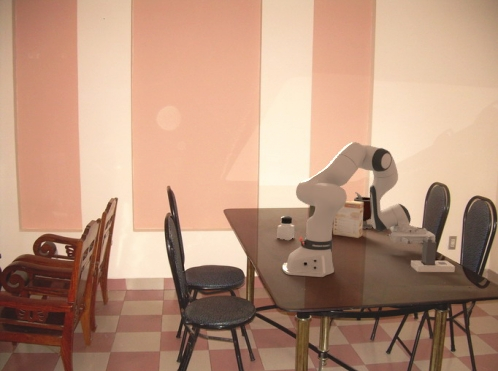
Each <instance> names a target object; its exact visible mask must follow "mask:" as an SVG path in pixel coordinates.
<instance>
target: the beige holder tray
mask: <svg viewBox="0 0 498 371" xmlns="http://www.w3.org/2000/svg"><path fill="white" fill-rule="evenodd" d="M410 267H411V268H412V269H413V270H415V271H416V272H417V273H455V270H456V266H455V265H454V264H452V263H450V262H449V261H448V260H435V265H424V264H422V260H410Z"/></svg>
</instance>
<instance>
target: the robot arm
mask: <svg viewBox="0 0 498 371" xmlns="http://www.w3.org/2000/svg"><path fill="white" fill-rule="evenodd" d="M358 169H361V170H366V171H372V175H373V180H372V184H371V185H370V186H369V197H370V206H371V219H370V224H372V226H373V228H372V229H374V231H377V232H381V233H382V232H384V231H386V230H388V229H390V232H391V233H388V234H387V236H388V238H390V241H391V242H392V243H394V244H396V243H398V244H399V243H401V244H403V243H404V244H406V245H411V244H423V240H428V236H432V240H433V241H435V242H436V234H434V233H432V232H431V231H428V230H427V228H424V227H416V226H413V225H410V224H411V220H412V219H411V215H410V212H409V210H408V208H407V207H406V206H404V205H403V204H402V203H396V204H393V205H391V206H388V207H386V208H383V209H381V200H382V197H384V196H385V194H386V193H388V192H389V191H390V190H392V189H393V188H394V187H395V186H396V184H397V183H398V181H399V173H398V170H397V169H398V168H397V164H396V163H395V158H394V157H393V155H392V153H391V152H390V151H389V150H388V149H385V148H383V147H376V146H372V145H367V144H364V145H363V144H361V143H359V142H357V141H356V142H355V141H353V142H350V143H348V144H346V146H344V147H343V148H342V149H341V150H340V151H339V152H338V153H337V154H336V155H335V157H334V158H333V159H332V160H331V161H330V162H329V164H327V166H325V167H324V168H323V169H322V170H321V171H319V172H317V174H315V175H313V176H311V177H310V178H307V179H305V180H302V181H300V182H299V183H298V184H297V186H296V189H295V195H296V198H297V200H298V201H300V202H302V203H303V204H305V205H308V206H310V205H311V206H315V212H314V214H313V216H311V217H310V218H309V217H308V218H307V220H306V227H305V229H306V230H305V231H306V232H305V237H304V236H300V237H299V238H298V241H299V242H300V246H299V247H298V248H296V249H294V250H293V251H292V252H290V253H289V255H288V257H287V261H286V262H284V263H283V264H282V269H281V270H282V272H283V273H284V274H286V275H290V276H301V277H302V276H303V277H317V278H323V277H325V276H327V275H331V274H333V273H335V268H334V264H333V257H332V256H333V255H332V254H333V253H332V252H333V246H334V245H333V244H334V243H333V237H332V236H333V230H332V228H333V225H334V224H333V220H334V217H335V215H336V213H337V212H338V210H340V209H341V208H342V207H343V206H344V205H345V203H346V200H348V198H347V197H348V196H347V192H346V190H345V189H344V187H342V186H344V185H346V184H347V183H348V182H349V181H350V179H352V177H353V176H354V174H355V173H356V172H357V171H358Z"/></svg>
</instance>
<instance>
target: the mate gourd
mask: <svg viewBox="0 0 498 371" xmlns="http://www.w3.org/2000/svg"><path fill="white" fill-rule="evenodd" d="M355 195H356V196H355V197H354V199H353V201H359V202H364V205H363V225H362V229H366V228H368V229H373V228H372V227H373V226H372V224H371V223H368V222H367V221H369V220H371V206H370V196H362V195H361V194H360V193H358V192H357V191H355Z"/></svg>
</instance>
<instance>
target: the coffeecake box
mask: <svg viewBox="0 0 498 371" xmlns="http://www.w3.org/2000/svg"><path fill="white" fill-rule="evenodd" d="M363 205H364V202H359V201H354V200H348V199H346V203H345V205H344V206H343V207H342V208H341V209H340V210H338V212H337V213H336V215H335V217H334V224H333V226H332V228H333V230H332V235H334V236H335V235H336V236H343V237H349V238H356V239H359V238H361V237H362V236H363V228H362V225H363Z"/></svg>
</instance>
